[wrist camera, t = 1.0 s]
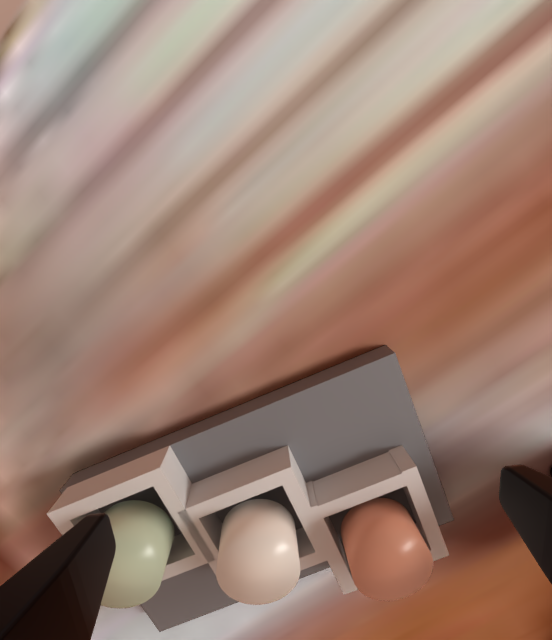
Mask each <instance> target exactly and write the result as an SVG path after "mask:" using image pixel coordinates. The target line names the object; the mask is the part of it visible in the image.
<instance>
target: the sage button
mask: <svg viewBox="0 0 552 640" xmlns="http://www.w3.org/2000/svg"><path fill="white" fill-rule="evenodd" d="M105 514H107V515H108V516H109V518H110V522H111V526H112V530H113V534H114V537H115V542H116V551H115V556H114V559H113V563H112V567H111V570H110V574H109V577H108V581H107V584H106V588H105V591H104V595H103V598H102V602H101V605H102V606H106V607H111V608H130V607H134V606H137V605H140V604H142V603H144V602H146V601H148V600H149V599H150V598H152V597H153V596H154V595H155V594H156V592H157V591H158V589H159V587H160V585H161V581H162V578H163V574H164V571H165V567H166V564H167V560H168V557H169V554H170V550H171V547H172V543H173V540H174V534H175V531H174V525H173V522H172V520H171V518H170V517H169V516H168V514H167V513H166V512H165V511H164V510H162V509H161V508H160V507H158V506H156V505H154V504H152V503H149V502H146V501H140V500H129V501H123V502H120V503H117V504H115V505H113V506H112V507H110V508H109V509H108V510H106V511H105Z"/></svg>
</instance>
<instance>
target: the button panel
mask: <svg viewBox="0 0 552 640" xmlns="http://www.w3.org/2000/svg"><path fill="white" fill-rule="evenodd" d="M60 492H61V493H62V495H61V496H60V497H59V498H58V500H57V501H56V502H55V504H54V505H53V506H52V507H51V509H50V510H49V511H48V513H47V515H48V517H49V518H50V519H51V521H52V522H53V523H54V525H55V526H56V527H57V529H58V530H59V532H60V533H61V534H62V535H64V534H65V533H66V532H67V531H68V530H70V529H71V528H72V527H73V526H74V525H76V524H77V523H78V522H79V521H81V520H82V519H83V518H84V517H86V516H88V515H92V514H100V513H105V511H106V510H108V509H109V508H110V507H112V506H113V505H115V504H117V503H120V502H123V501H129V500H140V501H146V502H149V503H152V504H154V505H156V506H158V507H160V508H161V509H162V510H164V511H165V512H166V513H167V514H168V516H169V517H170V518H171V520H172V522H173V525H174V531H175V534H174V540H173V543H172V547H171V550H170V554H169V557H168V560H167V564H166V567H165V571H164V574H163V578H162V581H161V585H160V587H159V589H158V591H157V592H156V594H155V595H154V596H153V597H152V598H150V599H149V600H148V601H146V602H144V603H142V604H140V605H141V606H142V608H143V609H144V611H145V612H146V613H147V615H148V616H149V618H150V619H151V620H152V622H153V623H154V625H155V626H156V628H157V629H158V630H159V632H161V631H163V630H166V629H169V628H171V627H174V626H177V625H179V624H182V623H184V622H187V621H190V620H192V619H195V618H198V617H200V616H203V615H206V614H208V613H211V612H213V611H216V610H219V609H221V608H224V607H227V606H229V605H232V604H234V603H237V602H239V601H236V600H234V599H232V598H231V597H229V596H228V595H227V594H226V593H225V592H224V591H223V590H222V589H221V587H220V586H219V584H218V581H217V577H216V568H217V560H218V552H219V545H220V537H221V530H222V524H223V521H224V519H225V517H226V515H227V514H228V512H229V511H230V510H231V509H233V508H234V507H235V506H237V505H238V504H240V503H242V502H245V501H248V500H252V499H267V500H272V501H275V502H277V503H279V504H281V505H282V506H284V507H285V508H286V509H287V510H288V511H289V512H290V513H291V515H292V517H293V519H294V522H295V528H296V536H297V544H298V552H299V561H300V576H299V579H300V578H303V577H305V576H308V575H311V574H313V573H316V572H319V571H321V570H324V569H326V568H329V567H331V569H332V571H333V573H334V575H335V577H336V579H337V581H338V583H339V585H340V588H341V590H342V592H343V594H344V595H345V594H348V593H350V592H353V591H356V590H358V589H357V587H356V586H355V584H354V581H353V578H352V575H351V571H350V567H349V564H348V560H347V556H346V553H345V549H344V545H343V542H342V538H341V524H342V521H343V519H344V517H345V515H346V514H347V513H348V512H349V510H351V509H352V508H353V507H354V506H356V505H358V504H361V503H364V502H366V501H369V500H371V499H374V498H389V499H392V500H395V501H397V502H399V503H401V504H402V505H403V506H404V507H405V508H406V509H407V510H408V512H409V514H410V516H411V517H412V519H413V521H414V523H415V525H416V527H417V528H418V530H419V532H420V534H421V536H422V538H423V539H424V541H425V543H426V545H427V547H428V549H429V550H430V552H431V554H432V558H433V561H436V560H438V559H441V558H444V557H446V556H449V553H448V550H447V547H446V545H445V542H444V539H443V537H442V534H441V531H440V528H439V526H440V525H442V524H445V523H447V522H450V521H453V520H454V518H453V516H452V513H451V510H450V507H449V504H448V501H447V499H446V496H445V493H444V490H443V487H442V484H441V482H440V479H439V476H438V473H437V470H436V467H435V465H434V462H433V459H432V456H431V453H430V450H429V448H428V445H427V442H426V439H425V436H424V433H423V431H422V428H421V425H420V422H419V419H418V416H417V414H416V411H415V408H414V405H413V402H412V399H411V397H410V394H409V391H408V388H407V385H406V382H405V380H404V377H403V374H402V371H401V368H400V365H399V363H398V360H397V357H396V354H395V352H393V351H392V350H391V349H390V348H389V347H388V346H386V345H384V346H382V347H379V348H377V349H374V350H372V351H370V352H367V353H365V354H362V355H360V356H357V357H355V358H353V359H350V360H348V361H345V362H343V363H340V364H338V365H336V366H333V367H331V368H328V369H326V370H323V371H321V372H319V373H316V374H314V375H311V376H309V377H307V378H304V379H302V380H299V381H297V382H294V383H292V384H290V385H287V386H285V387H282V388H280V389H277V390H275V391H273V392H270V393H268V394H265V395H263V396H260V397H258V398H256V399H253V400H251V401H248V402H246V403H244V404H241V405H239V406H236V407H234V408H231V409H229V410H227V411H224V412H222V413H219V414H217V415H214V416H212V417H210V418H207V419H205V420H202V421H200V422H197V423H195V424H193V425H190V426H188V427H185V428H183V429H181V430H178V431H176V432H173V433H171V434H168V435H166V436H164V437H161V438H159V439H156V440H154V441H151V442H149V443H147V444H144V445H142V446H139V447H137V448H134V449H132V450H130V451H127V452H125V453H122V454H120V455H118V456H115V457H113V458H110V459H108V460H105V461H103V462H101V463H98V464H96V465H93V466H91V467H88V468H86V469H84V470H81V471H79V472H76V473H74V474H72V476H71V477H70V478H69V479H68V481H67V482H66V483H65V484H64V486H63V487H62V488H61V490H60Z"/></svg>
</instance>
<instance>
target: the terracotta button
mask: <svg viewBox="0 0 552 640" xmlns="http://www.w3.org/2000/svg"><path fill="white" fill-rule="evenodd" d="M341 538H342V542H343V545H344V549H345V553H346V556H347V560H348V564H349V567H350V571H351V575H352V578H353V581H354V584H355V586H356V587H357V589H358V590H359V591H360V592H361V593H362V594H364V595H365V596H367V597H369V598H372V599H375V600H379V601H395V600H400V599H403V598H406V597H408V596H410V595H412V594H414V593H416V592H417V591H418V590H420V589H421V588H422V587H423V586H424V585H425V584H426V582H427V581H428V580H429V578H430V576H431V573H432V570H433V558H432V554H431V552H430V550H429V549H428V547H427V545H426V543H425V541H424V539H423V538H422V536H421V534H420V532H419V530H418V528H417V527H416V525H415V523H414V521H413V519H412V517H411V516H410V514H409V512H408V510H407V509H406V508H405V507H404V506H403V505H402V504H401V503H399V502H397V501H395V500H392V499H389V498H374V499H371V500H369V501H366V502H364V503H361V504H358V505H356V506H354V507H353V508H352V509H351V510H349V512H348V513H347V514H346V515H345V517H344V519H343V521H342V524H341Z"/></svg>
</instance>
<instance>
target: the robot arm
mask: <svg viewBox="0 0 552 640" xmlns="http://www.w3.org/2000/svg"><path fill="white" fill-rule="evenodd" d="M550 474H551V477H550V476H548V475H545V474H543V473H541V472H538V471H536V470H534V469H532V468H529V467H527V466H524V465H510V466H505V467H503V468H502V470H501V478H500V490H499V499H500V503H501V505H502V507H503V509H504V511H505V512H506V514H507V515H508V517H509V519H510V520H511V522H512V523H513V525H514V527H515V528H516V530H517V531H518V533H519V534H520V536H521V538H522V539H523V541H524V542H525V544H526V546H527V547H528V549H529V550H530V552H531V553H532V555H533V557H534V558H535V560H536V561H537V563H538V565H539V566H540V568H541V569H542V571H543V572H544V574H545V575H546V577H547V578H548V580H549V581H550V583H551V584H552V468H551V471H550ZM115 551H116V542H115V537H114V534H113V530H112V526H111V522H110V518H109V516H108V515H107V514H105V513H100V514H92V515H88V516H86V517H84V518H83V519H82V520H81V521H79V522H78V523H77V524H76V525H74V526H73V527H72V528H71V529H70V530H68V531H67V532H66V533H65V534H64V535H62V536H61V537H60V538H59V539H57V540H56V541H55V542H54V543H53V544H51V545H50V546H49V547H48V548H46V549H45V550H44V551H43V552H42V553H40V554H39V555H38V556H37V557H35V558H34V559H33V560H32V561H31V562H29V563H28V564H27V565H26V566H24V567H23V568H22V569H21V570H20V571H18V572H17V573H16V574H15V575H13V576H12V577H11V578H10V579H9V580H7V581H6V582H5V583H4V584H3V585H1V586H0V640H90V639H91V636H92V633H93V630H94V626H95V623H96V619H97V616H98V612H99V609H100V605H101V602H102V598H103V595H104V591H105V588H106V584H107V581H108V577H109V574H110V570H111V567H112V563H113V559H114V556H115Z"/></svg>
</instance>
